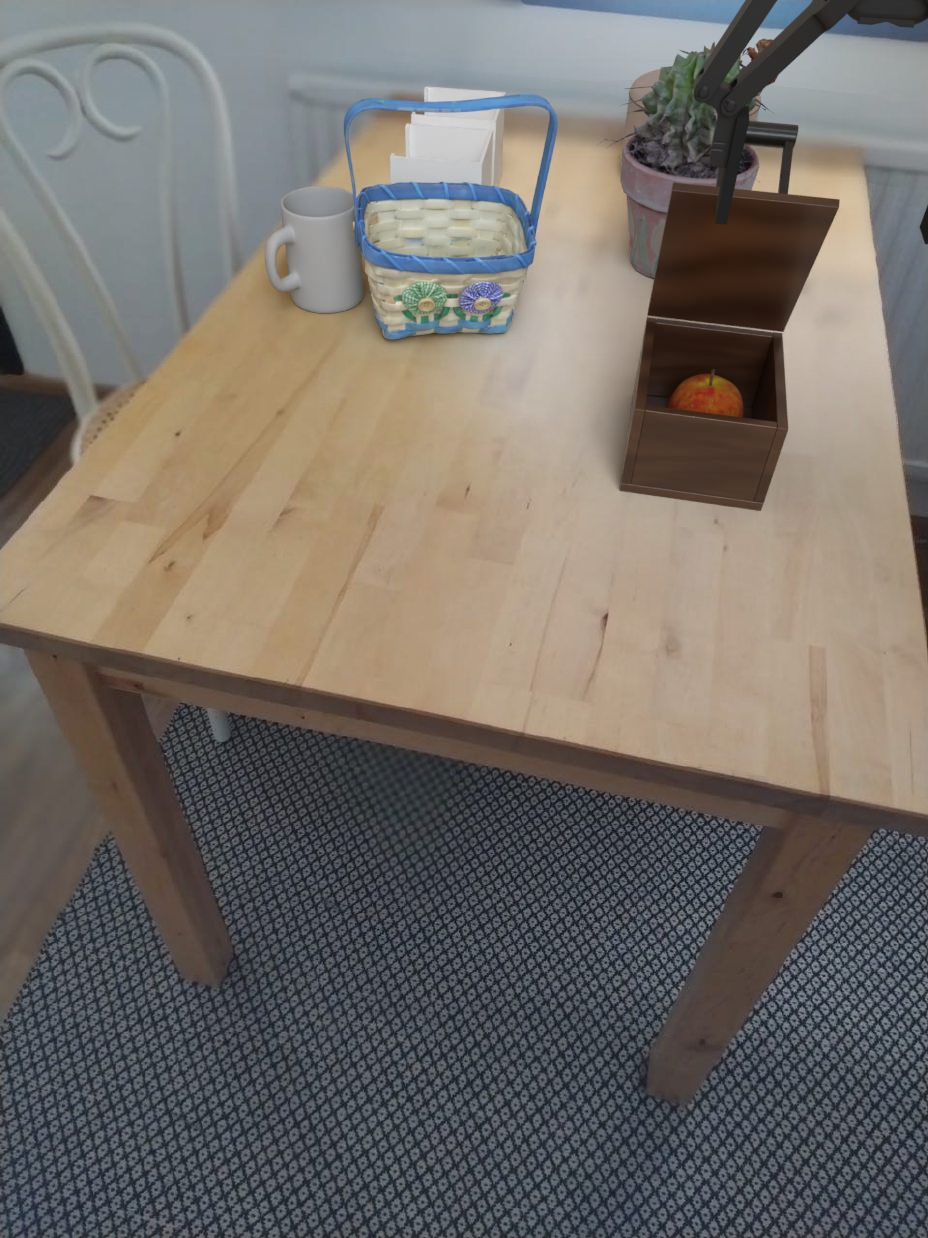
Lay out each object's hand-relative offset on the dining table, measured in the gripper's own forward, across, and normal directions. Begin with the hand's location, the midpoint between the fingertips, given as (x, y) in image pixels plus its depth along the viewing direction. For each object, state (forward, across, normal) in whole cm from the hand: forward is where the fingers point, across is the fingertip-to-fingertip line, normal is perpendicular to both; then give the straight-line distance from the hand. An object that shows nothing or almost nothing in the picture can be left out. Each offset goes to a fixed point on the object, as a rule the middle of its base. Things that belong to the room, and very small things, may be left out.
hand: (822, 226), depth 63 cm
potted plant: (+26, +9, -49) cm, 56 cm away
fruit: (+26, +4, -10) cm, 28 cm away
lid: (+10, +4, -14) cm, 18 cm away
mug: (+26, +48, -30) cm, 62 cm away
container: (+26, +8, -78) cm, 82 cm away
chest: (+26, +4, -11) cm, 29 cm away
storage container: (+26, +38, -58) cm, 74 cm away
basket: (+26, +32, -29) cm, 50 cm away
